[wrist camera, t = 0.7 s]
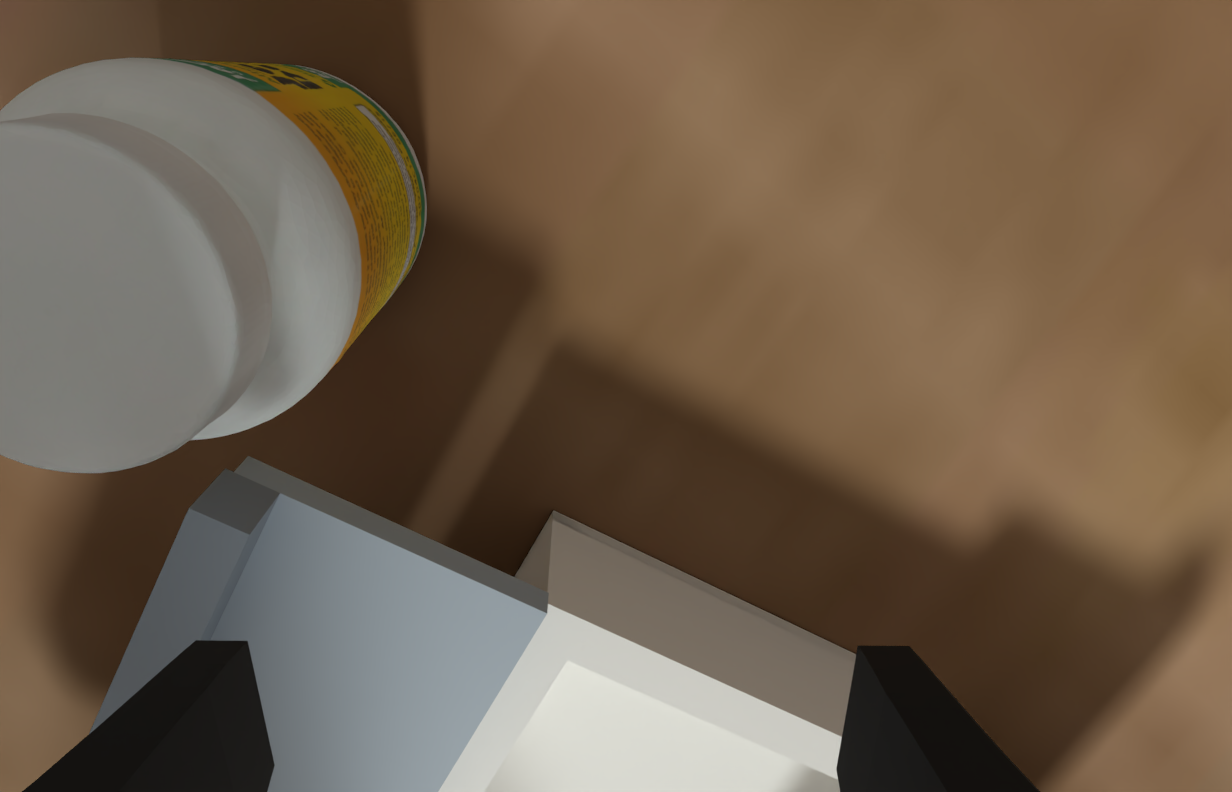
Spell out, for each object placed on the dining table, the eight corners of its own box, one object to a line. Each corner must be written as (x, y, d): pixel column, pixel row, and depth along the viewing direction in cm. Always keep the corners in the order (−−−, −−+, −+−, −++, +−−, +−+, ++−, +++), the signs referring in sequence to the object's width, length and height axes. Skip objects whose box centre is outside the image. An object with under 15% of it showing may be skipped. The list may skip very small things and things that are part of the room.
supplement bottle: (232, 346, 20) (-64, 575, 11) (131, 100, 18) (-329, 126, 9) (465, 288, 20) (361, 473, 11) (386, 32, 18) (178, -11, 9)
